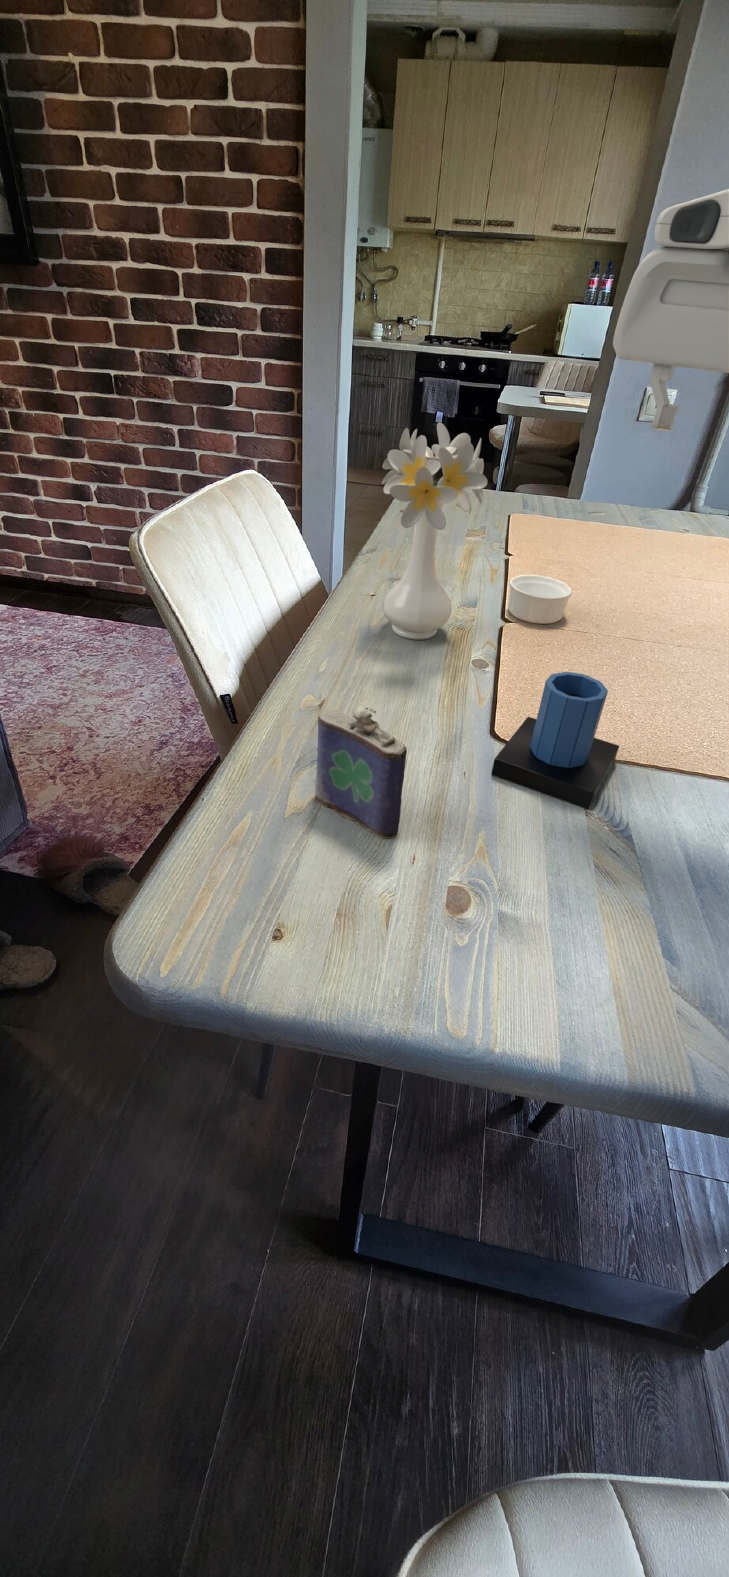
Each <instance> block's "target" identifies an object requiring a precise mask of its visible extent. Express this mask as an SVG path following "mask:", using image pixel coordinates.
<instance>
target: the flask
mask: <svg viewBox="0 0 729 1577" xmlns="http://www.w3.org/2000/svg"><path fill="white" fill-rule="evenodd" d="M368 710H369V711H368ZM372 713H374V714H376V713H377V710H376V708H374V707H367V706H365V707H364V709H362V710H360V711H359V712H355V711H354V712H353V713H352V715H350V714H349V715H348V714H347V713H344V712H341V711H338V710H325V711H322V712H321V713H320V714H318V715H319V716H318V717H317V749H316V750H317V756H316V775H315V786H314V788H315V789H314V797H315V799H316V800H317V801H318V802H319V803H320V804H321V805H322V806H324V807H325V808H330V809H332V810H333V811H335V812H336V813H337V814H338V815H340V816H341V817H342V818H345V819H346V820H351V821H355V822H356V824H357V826H362V827H364V828H365V829H366V831H367V832H370V833H372V834H374V835H375V836H376V837H377V838H382V839H390V840H392V839H393V838H394V837H396V836H397V835H398V833H399V827H400V820H401V810H402V796H403V787H404V781H405V769H406V761H407V755H408V754H407V752H408V749H407V747H406V745H405V744H404V743H403V742H402V741H400V740H399V739H398V738H395V737H394V736H393V735H391V734H390V733H388V732H387V731H385V730H383V729H382V728H380V727H381V725H380V724H379V723H378V721H377V720H376V721H375V720H373V719H372V717H373V714H372Z"/></svg>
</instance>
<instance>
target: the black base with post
mask: <svg viewBox="0 0 729 1577" xmlns="http://www.w3.org/2000/svg"><path fill="white" fill-rule="evenodd" d="M565 694H567V695H569V696H574V697H580V698H583V697H581V696H579V695H576V694H571V693H565ZM536 720H537V718H534V717H531V716H527V717H526V718H525V720H524V721H523V722H522V723H521V725H519V727H518V728H517V730H516V731H515V732H514V733H513V735H512V736H511V737H510V738H509V740H508V741H507V742H506V744H504V746H503V747H502V748H501V750H500V751H499V752H498V754H496V756H495V758H494V759H493V764H492V769H491V776H494V777H497V778H499V779H502V780H505V781H507V782H511V783H513V784H516V785H519V786H522V787H525V788H527V789H530V790H533V791H536V792H539V793H541V794H544V795H546V796H550V797H553V798H555V799H558V800H562V801H564V802H567V803H569V804H572V805H575V806H578V807H580V808H583V809H587V810H589V809H590V808H591V807H592V804H593V803H594V801H595V799H596V797H597V796H598V793H599V791H600V790H601V788H602V787H603V786H602V785H604V782H605V780H606V778H607V776H608V774H609V773H610V771H611V769H612V767H613V766H614V763H615V761H616V758H617V756H618V752H619V749H620V745H618V744H615V743H612V742H609V741H606V740H604V739H603V740H602V739H600V738H596V737H594V740H593V743H592V746H591V750H590V753H589V757H588V758H587V760H586V762H585V763H584V764H583V765H581V766H576V767H572V768H569V767H568V768H565V767H559V766H552V765H551V764H550V765H549V764H547V763H545V762H544V761H542V760H540V759H538V758H536V756H535V755H534V754H533V752H532V750H531V748H530V745H531V741H532V736H533V732H534V728H535V724H536Z"/></svg>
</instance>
